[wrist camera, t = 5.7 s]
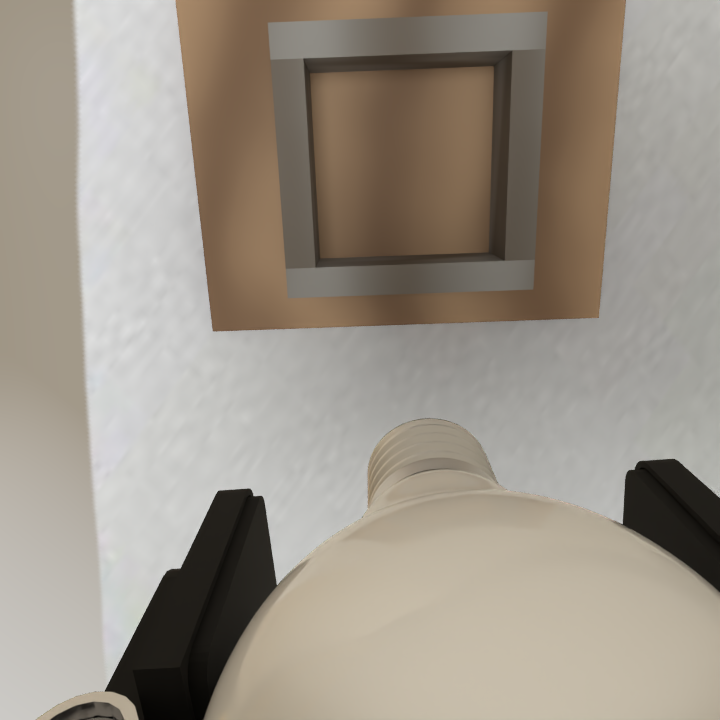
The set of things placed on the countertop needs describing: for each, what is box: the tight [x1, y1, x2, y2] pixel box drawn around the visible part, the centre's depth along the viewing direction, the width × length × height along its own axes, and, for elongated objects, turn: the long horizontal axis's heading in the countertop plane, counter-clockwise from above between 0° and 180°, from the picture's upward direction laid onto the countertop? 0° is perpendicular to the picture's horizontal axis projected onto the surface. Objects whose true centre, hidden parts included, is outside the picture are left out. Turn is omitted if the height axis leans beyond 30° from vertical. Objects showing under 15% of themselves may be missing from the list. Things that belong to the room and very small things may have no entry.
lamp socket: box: [176, 0, 626, 331], centre depth 24 cm, size 18×14×4 cm
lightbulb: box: [203, 418, 720, 720], centre depth 8 cm, size 6×6×11 cm
